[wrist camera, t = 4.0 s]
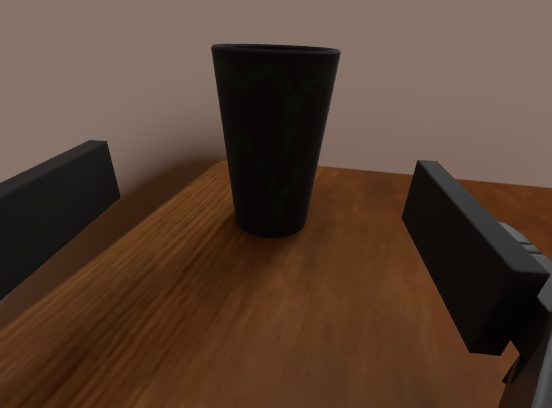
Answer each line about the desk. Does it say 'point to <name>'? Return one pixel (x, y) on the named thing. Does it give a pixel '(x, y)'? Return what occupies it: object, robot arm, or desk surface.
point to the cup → (273, 129)
